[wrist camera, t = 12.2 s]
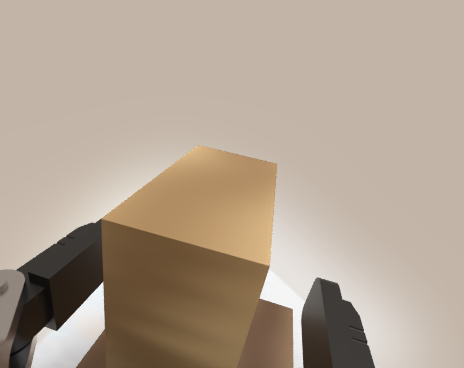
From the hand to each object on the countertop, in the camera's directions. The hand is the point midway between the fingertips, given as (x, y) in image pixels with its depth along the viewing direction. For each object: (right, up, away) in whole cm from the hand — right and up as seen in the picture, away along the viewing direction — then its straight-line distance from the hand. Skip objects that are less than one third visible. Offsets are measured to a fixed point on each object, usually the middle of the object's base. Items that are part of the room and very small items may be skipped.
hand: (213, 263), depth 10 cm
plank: (-2, -10, +3) cm, 11 cm away
